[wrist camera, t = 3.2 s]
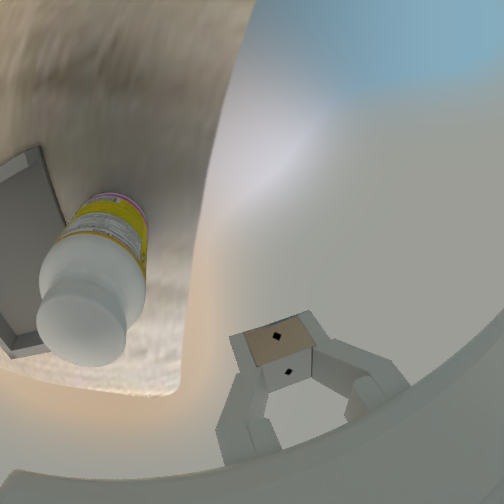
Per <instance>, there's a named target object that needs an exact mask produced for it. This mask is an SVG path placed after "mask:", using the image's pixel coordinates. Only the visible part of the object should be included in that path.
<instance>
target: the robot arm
mask: <svg viewBox="0 0 504 504" xmlns="http://www.w3.org/2000/svg"><path fill="white" fill-rule="evenodd" d="M229 339H230V343H231V346H232V349H233V352H234V355H235V358H236V361H237V364H238V367H239V370H240V373H238V374H236V377H235V379H234V382H233V384H232V387H231V390H230V392H229V395H228V398H227V401H226V403H225V406H224V409H223V411H222V414H221V416H220V419H219V421H218V424H217V427H216V429H215V431H216V435H217V439H218V442H219V446H220V450H221V453H222V457H223V461H224V464H225V466H224V467H220V468H215V469H211V470H205V471H200V472H194V473H188V474H181V475H174V476H165V477H156V478H142V479H85V478H72V477H62V476H54V475H47V474H40V473H35V472H30V471H25V470H20V469H16V470H13V471H12V472H11V473H10V474H9V476H8V477H7V479H6V480H5V481H4V483H3V484H2V486H1V487H0V504H504V308H503V309H502V311H501V312H500V313H499V314H498V315H497V316H496V317H495V318H494V319H493V320H492V321H491V322H490V323H489V324H488V325H487V326H486V327H485V328H484V329H483V330H482V331H481V332H479V333H478V334H477V335H476V336H475V337H474V338H473V339H472V340H471V341H470V342H469V343H467V344H466V345H465V346H464V347H463V348H461V349H460V350H459V351H458V352H457V353H455V354H454V355H453V356H452V357H450V358H449V359H448V360H447V361H445V362H444V363H443V364H442V365H440V366H439V367H438V368H436V369H435V370H434V371H432V372H431V373H430V374H428V375H427V376H426V377H424V378H423V379H421V380H420V381H418V382H417V383H415V384H414V385H413V386H411V385H410V384H409V383H408V382H407V380H406V379H405V377H404V376H403V375H402V374H401V372H400V371H399V370H398V369H397V367H396V366H395V365H394V364H393V362H392V361H391V360H389V359H386V358H383V357H381V356H378V355H375V354H373V353H370V352H368V351H365V350H362V349H360V348H357V347H354V346H352V345H350V344H347V343H345V342H342V341H340V340H337V339H332V340H331V339H330V338H329V337H328V335H327V334H326V332H325V331H324V329H323V328H322V327H321V325H320V324H319V322H318V321H317V319H316V318H315V317H314V315H313V314H312V312H311V311H309V310H307V311H304V312H302V313H299V314H296V315H293V316H290V317H288V318H285V319H282V320H279V321H276V322H274V323H271V324H269V325H265V326H262V327H259V328H255V329H252V330H249V331H245V332H242V333H239V334H235V335H232V336H229ZM311 377H312V378H313V379H315V380H316V381H318V382H320V383H321V384H323V385H325V386H326V387H328V388H330V389H332V390H333V391H335V392H337V393H339V394H340V395H342V396H344V397H346V398H348V399H349V401H348V404H347V407H346V410H345V413H344V416H345V418H346V420H347V421H348V423H346V424H344V425H342V426H340V427H338V428H336V429H333V430H331V431H329V432H327V433H324V434H322V435H320V436H317V437H315V438H313V439H310V440H308V441H305V442H303V443H300V444H297V445H295V446H292V447H289V448H287V449H284V450H282V448H281V446H280V443H279V441H278V438H277V436H276V434H275V431H274V430H273V427H272V425H271V422H270V420H269V419H266V418H263V416H264V412H265V407H266V403H267V399H268V393H270V392H273V391H276V390H278V389H281V388H284V387H286V386H289V385H291V384H294V383H297V382H300V381H303V380H305V379H308V378H311Z"/></svg>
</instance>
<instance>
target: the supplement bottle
mask: <svg viewBox="0 0 504 504" xmlns="http://www.w3.org/2000/svg"><path fill="white" fill-rule="evenodd" d="M147 244H148V225H147V220H146V217H145V215H144V213H143V211H142V210H141V208H140V207H139V206H138V205H137V204H136V203H135V202H134V201H133V200H131V199H130V198H128V197H126V196H124V195H122V194H118V193H102V194H98V195H96V196H94V197H92V198H90V199H89V200H87V201H86V202H85V203H84V204H83V205H82V207H81V208H80V209H79V210H78V212H77V213H76V214H75V215H74V217H73V218H72V219H71V221H70V222H69V224H68V225H67V226H66V228H65V229H64V231H63V232H62V233H61V235H60V236H59V238H58V239H57V241H56V242H55V244H54V245H53V246H52V248H51V249H50V251H49V252H48V254H47V255H46V257H45V259H44V261H43V263H42V266H41V269H40V274H39V289H40V294H41V297H42V302H41V304H40V307H39V310H38V312H37V317H36V325H37V330H38V333H39V335H40V337H41V339H42V341H43V342H44V344H45V345H46V346H47V347H48V348H49V349H50V350H51V351H52V352H53V353H54V354H56V355H57V356H58V357H60V358H62V359H63V360H65V361H68V362H70V363H73V364H76V365H79V366H85V367H100V366H105V365H108V364H110V363H112V362H114V361H115V360H117V359H118V358H119V357H120V356H121V354H122V353H123V350H124V348H125V344H126V331H127V330H128V329H129V328H130V327H131V326H132V325H133V324H134V323H135V322H136V321H137V319H138V318H139V316H140V314H141V312H142V310H143V307H144V302H145V292H146V260H147Z"/></svg>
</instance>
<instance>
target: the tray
mask: <svg viewBox="0 0 504 504" xmlns="http://www.w3.org/2000/svg"><path fill="white" fill-rule="evenodd" d="M66 226H67V225H66V222H65V220H64V217H63V215H62V212H61V210H60V207H59V204H58V202H57V199H56V196H55V193H54V190H53V187H52V184H51V181H50V178H49V175H48V172H47V169H46V165H45V162H44V158H43V155H42V151H41V147H40V146H39V147H36V148H33V149H30V150H27V151H25V152H23V153H21V154H19V155H18V156H16V157H14V158H13V159H11V160H9V161H8V162H6V163H4V164H3V165H1V166H0V346H1V347H2V349H3V350H4V351H5V352H6V353H7V355H8V356H9V357H10V358H11V359H15V358H21V357H26V356H31V355H36V354H41V353H46V352H50V351H51V350H50V349H49V348H48V347H47V346H46V345H45V344H44V342H43V341H42V339H41V337H40V335H39V333H38V330H37V325H36V317H37V312H38V310H39V307H40V304H41V302H42V297H41V294H40V289H39V274H40V269H41V266H42V263H43V261H44V259H45V257H46V255H47V254H48V252H49V251H50V249H51V248H52V246H53V245H54V244H55V242H56V241H57V239H58V238H59V236H60V235H61V233H62V232H63V231H64V229H65V228H66Z"/></svg>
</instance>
